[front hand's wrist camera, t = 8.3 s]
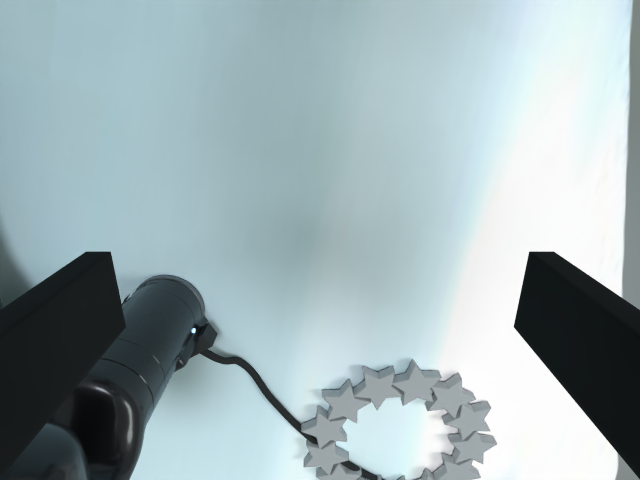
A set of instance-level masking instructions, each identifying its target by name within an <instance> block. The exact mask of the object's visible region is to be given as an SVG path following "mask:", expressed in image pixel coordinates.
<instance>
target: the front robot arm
mask: <svg viewBox="0 0 640 480" xmlns="http://www.w3.org/2000/svg"><path fill="white" fill-rule="evenodd" d="M125 328H126V324H125V319H124V314H123V309H122V304H121V299H120V295H119V290H118V285H117V280H116V275H115V271H114V266H113V261H112V256H111V252H85V253H84V254H82V255H81V256H79V257H78V258H76V259H75V260H73V261H72V262H70V263H69V264H67V265H66V266H64V267H63V268H61V269H60V270H59V271H57V272H56V273H54V274H53V275H51V276H50V277H48V278H47V279H45V280H44V281H42V282H41V283H39V284H38V285H36V286H35V287H34V288H32V289H31V290H29V291H28V292H26V293H25V294H23V295H22V296H20V297H19V298H17V299H16V300H14V301H13V302H11V303H10V304H9V305H7V306H6V307H4V308H3V309H1V310H0V479H1V478H2V476H3V475H4V474H5V473H6V472H7V470H8V469H9V468H10V467H11V466H12V464H13V463H14V462H15V461H16V460H17V458H18V457H19V456H20V455H21V453H22V452H23V451H24V450H25V449H26V447H27V446H28V445H29V444H30V443H31V441H32V440H33V439H34V438H35V437H36V435H37V434H38V433H39V432H40V431H41V429H42V428H43V427H44V426H45V424H46V423H47V422H48V421H49V420H50V418H51V417H52V416H53V415H54V414H55V412H56V411H57V410H58V409H59V408H60V406H61V405H62V404H63V403H64V402H65V400H66V399H67V398H68V397H69V395H70V394H71V393H72V392H73V391H74V389H75V388H76V387H77V386H78V385H79V383H80V382H81V381H82V380H83V379H84V377H85V376H86V375H87V374H88V373H89V371H90V370H91V369H92V368H93V366H94V365H95V364H96V363H97V362H98V360H99V359H100V358H101V357H102V356H103V354H104V353H105V352H106V351H107V350H108V348H109V347H110V346H111V345H112V344H113V342H114V341H115V340H116V339H117V337H118V336H119V335H120V334H121V333H122V331H123V330H124V329H125ZM514 328H515V329H516V330H517V331H518V333H519V334H520V335H521V336H522V337H523V339H524V340H525V341H526V342H527V344H528V345H529V346H530V347H531V348H532V350H533V351H534V352H535V353H536V354H537V356H538V357H539V358H540V359H541V360H542V362H543V363H544V364H545V365H546V366H547V368H548V369H549V370H550V371H551V373H552V374H553V375H554V376H555V377H556V379H557V380H558V381H559V382H560V383H561V385H562V386H563V387H564V388H565V389H566V391H567V392H568V393H569V394H570V395H571V397H572V398H573V399H574V400H575V402H576V403H577V404H578V405H579V406H580V408H581V409H582V410H583V411H584V412H585V414H586V415H587V416H588V417H589V418H590V420H591V421H592V422H593V423H594V424H595V426H596V427H597V428H598V429H599V431H600V432H601V433H602V434H603V435H604V437H605V438H606V439H607V440H608V441H609V443H610V444H611V445H612V446H613V447H614V449H615V450H616V451H617V452H618V453H619V455H620V456H621V457H622V458H623V460H624V461H625V462H626V463H627V464H628V466H629V467H630V468H631V469H632V470H633V472H634V473H635V474H636V475H637V476H638V478H639V479H640V310H639V309H637V308H636V307H634V306H633V305H631V304H630V303H629V302H627V301H626V300H624V299H623V298H621V297H620V296H618V295H617V294H615V293H614V292H612V291H611V290H609V289H608V288H606V287H605V286H604V285H602V284H601V283H599V282H598V281H596V280H595V279H593V278H592V277H590V276H589V275H587V274H586V273H584V272H583V271H581V270H580V269H579V268H577V267H576V266H574V265H573V264H571V263H570V262H568V261H567V260H565V259H564V258H562V257H561V256H559V255H558V254H556V253H555V252H529V256H528V261H527V266H526V271H525V275H524V280H523V285H522V290H521V295H520V299H519V304H518V309H517V314H516V319H515V324H514Z"/></svg>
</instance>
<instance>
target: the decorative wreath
mask: <svg viewBox="0 0 640 480" xmlns="http://www.w3.org/2000/svg"><path fill="white" fill-rule="evenodd" d="M363 372H364V378H365V380H364V381H362V382H361V383H360V384H359V385H357V386H356V387H355V388H353V387H352V385H351V382H350V379H348V380H347V381H346V382H345V384H344V385H343V386H342V387H341V388H340V389H339V390H322V397H323V398H324V399H325V400H326V401H327V402H328V404H329V405H330V407H329V410H328V412H326V411H325V410H324V409H322V408H321V407H320V406H318V408H317V414H316V418H315V419H312V420H310V421H308V422H305V423H303V424H302V425H301V432H303V433H306V434H309V435H312V436H315V437H317V442H318V445H316V444H313V443H311V442H310V441H309V440H308V439H307V445H306V446H307V448H308V450H309V451H310V453H309V454H308V455H307V456H306V457H305V458H304V467H321V468H317V469H316V477H317V478H319V479H320V480H369V479H365V478H363V477H361V475H362V472H361V467H359V468H360V470H359V471H352V470H350V469H348V468H347V467H345V466H344V465H342V464H341V462H344V461H348V460H349V454H348V452H347V451H345V450H343V449H341V448H339V447H337V446H335V441H344V442H347V436H346V433H345V431H344V430H343V429H342V426H343V424H344V422H345V421H346V419H347V418H348V419H349V420H351V421H353V422H355V423H357V410H359V409H360V408H362V407H364V406H366V405H367V404H369V403H371V401H372V403H373V404H374V406H375V408H376V409H377V410H378V409H379V407H380V406H381V404H382V403H383V401H384V400H385V398H392V397H400V396H401V401H402V405H403V406H404V405H405V404H407V403H409V402H411V401H413V400H414V399H416V398H420V399H424V400H427V402H426V403H425V406H426V409H427V411H432V410H440V409H445V410H446V411H447V412H448V413H449V414H447V415H445V416H443V417H442V419H443V422H444V424H445V425H448V426H452V427H455V428H458V431H459V434H451V435H448V438H449V440H450V443H451V444H452V445H454V446H455V449H454V452H453V454H452V456H450V455H446V454H443V453H442V457H443V462H444V465H442V466H441V467H440V468H439V469H437V470H436V471H435V472H433V474H432V473H431V472H430V471H429V470H428V469H427V468H425V470H424V473H423V475H422V478H420V479H417V480H472V479H477V478H481V477H480V474H479V472H478V470H477V469H476V468H474V467H473V466H471V465H472V461H473V460H475V461H477V462H479V463H482V464H483V452H485V451H487V450H488V449H490V448H492V447H493V446H495V445H497V442H496V440H495V439H494V437H493V436H488V435H481V434H478V431H490V429H489V427H488V425H487V423H486V422H485V421H484V418H485V417H486V415H487V414H488V412H489V411H490V409H491V407H490V405H489V403H488V401H484V402H480V403H476V404H472V405H470V404H469V403H468V402H471V401H474V400H476V398H475V396H474V394H473V392H471V391H468V390H466V389H464V388H462V378H461V376H460V374H459V372H458V373H457V374H455V375H454V376H453V377H451V378H450V379H448V380H447V381H446V382H440V381H439V380H440V379H441V378H442V377H441V375H440V372H439V371H421V370H420V368H419V367H418V366H417V364H416V363H415V362H414V360H413V359H412V361H411V364H410V366H409V368H408V370H407V372H406V373H403V374H399V375H395V369H394V366H391V367H389V368H386V369H384V370H382V371H379V372H376V371H374V370H371V369H369V368H367V367H364V366H363ZM394 375H395V376H394ZM430 388H432V390H433V392H434V393H433V394H432V395H431V392H430ZM401 390H402V391H401ZM377 477H378V480H382V479H381V475H379V476H377ZM399 480H405V477H404V476H402V477H401V478H400V479H399Z"/></svg>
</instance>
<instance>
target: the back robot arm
mask: <svg viewBox="0 0 640 480" xmlns="http://www.w3.org/2000/svg"><path fill="white" fill-rule="evenodd" d="M129 295H130V294H129ZM129 295H128V296H127V297H126V298H125V300H124V301H123V303H122V309H123V314H124V319H125V324H126V328H125V329H124V330H123V331H122V333H121V334H120V335H119V336H118V337H117V339H116V340H115V341H114V342H113V344H112V345H111V346H110V347H109V348H108V350H107V351H106V352H105V353H104V354H103V356H102V357H101V358H100V359H99V360H98V362H97V363H96V364H95V365H94V366H93V368H92V369H91V370H90V371H89V373H88V374H87V375H86V376H85V377H84V379H83V380H82V381H81V382H80V383H79V385H78V386H77V387H76V388H75V389H74V391H73V392H72V393H71V394H70V395H69V397H68V398H67V399H66V400H65V402H64V403H63V404H62V405H61V406H60V408H59V409H58V410H57V411H56V412H55V414H54V415H53V416H52V417H51V418H50V420H49V421H48V422H47V423H46V424H45V426H44V427H43V428H42V429H41V431H40V432H39V433H38V434H37V435H36V437H35V438H34V439H33V440H32V441H31V443H30V444H29V445H28V446H27V447H26V449H25V450H24V451H23V452H22V453H21V455H20V456H19V457H18V458H17V460H16V461H15V462H14V463H13V464H12V466H11V467H10V468H9V469H8V470H7V472H6V473H5V474H4V475H3V476H2V478H1V479H0V480H130V477H131V475H132V473H133V471H134V469H135V466H136V464H137V461H138V459H139V456H140V453H141V449H142V444H143V439H144V432H145V428H146V425H147V423H148V421H149V419H150V417H151V415H152V413H153V411H154V409H155V407H156V406H157V404H158V402H159V400H160V398H161V396H162V394H163V392H164V390H165V388H166V386H167V384H168V382H169V381H170V379H171V377H172V375H173V373H174V372H175V371H177V370H179V369H181V368H183V367H184V366H185V365H186V364H187V362H188V360H189V358H191V357H193V356H195V355H197V354H199V353H200V354H202V355H204V356H205V357H207V358H209V359H211V360H213V361H215V362H218V363H221V364H237V365H239V366H241V367H242V368H243V369H245V370H246V371H247V372H248V373H249V374H250V375H251V377H252V378H253V379H254V381H255V382H256V384H257V385H258V387H259V388H260V390H261V391H262V393H263V394H264V396H265V397H266V398H267V399H268V401H269V402H270V403H271V404H272V405H273V406H274V407H275V408H276V409H277V410H278V411H279V413H280V414H281V415H282V416H283V417H284V418H285V419H286V420H287V421H288V422H289V423H290V424H291V425H292V426H293V427H294V428H295V429H296V430H297V431H298V432H300V433H301V434H302V435H303V436H304V437H305V438H306V439H308V440H309V441H310V442H311V443H313V444H316V445H318V442H317V438H315V437H314V436H312V435H309V434H306V433H303V432H301V424H299V423H298V422H297V421H296V420H295V419H294V418H293V417H292V416H291V415H290V413H289V412H288V411H287V410H286V409H285V408H284V407H283V406H282V405H281V404H280V403H279V402H278V400H277V399H276V398H275V397H274V396H273V395H272V394H271V392H270V391H269V390H268V388H267V387H266V385H265V384H264V382H263V381H262V379H261V378H260V376H259V375H258V373H257V372H256V371H255V369H254V368H253V367H252V366H251V365H250V364H248V363H247V362H246V361H244V360H243V359H241V358H238V357H222V356H219V355H217V354H215V353H213V352H212V351H210V350H208V348H210V347H212V346H213V343H214V341H215V338H216V336H217V332H216V331H215V330H214V329H213V327H212V326H211V325H210V324H209V323H207V319H206V318H205V316H204V303H203V300H202V297H201V295H200V294H199V292H198V291H197V290H196V289H195V288H194V287H193V286H192V285H191V284H190V283H188V282H187V281H185V280H183V279H181V278H178V277H175V276H170V275H159V276H155V277H152V278H149V279H147V280H146V281H144V282H143V283H142V284H141V285H140V286H139V287H138V288H137V290H136V291H135V292H134V293H133V294H132V296H131V297H130V298H129V299H128V297H129ZM127 299H128V300H127ZM126 300H127V301H126ZM3 308H4V306H3V304H2V302H1V300H0V310H1V309H3ZM206 323H207V324H206ZM341 464H342V465H344V466H345V467H347V468H348V469H350V470H352V471H359V470H360V468H359V467H358V466H356V465H354V464H352V463H351V462H349V461H344V462H341ZM361 472H362V475H361V476H363V477H365V478H367V479H369V480H378V477H377V476H375V475H373V474H371V473H369V472H367V471H365V470H363V469H361ZM382 480H383V479H382Z"/></svg>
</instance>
